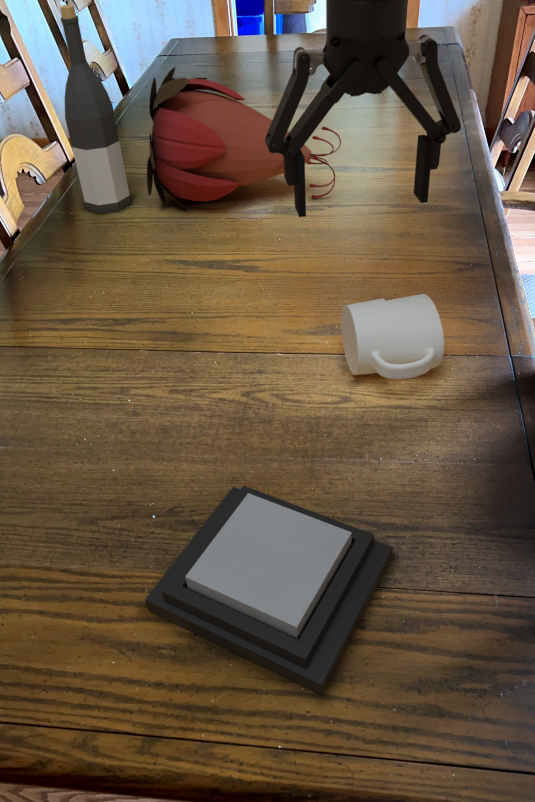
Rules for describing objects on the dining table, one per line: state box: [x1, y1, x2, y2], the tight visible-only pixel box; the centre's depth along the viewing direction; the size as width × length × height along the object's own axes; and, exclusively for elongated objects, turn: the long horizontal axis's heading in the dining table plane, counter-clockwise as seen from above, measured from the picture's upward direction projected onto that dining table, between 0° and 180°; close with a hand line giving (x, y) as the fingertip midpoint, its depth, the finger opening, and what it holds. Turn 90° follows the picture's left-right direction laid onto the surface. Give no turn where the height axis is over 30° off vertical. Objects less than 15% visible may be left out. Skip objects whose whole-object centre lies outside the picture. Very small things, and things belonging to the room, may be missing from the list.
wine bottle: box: [59, 3, 131, 215], centre depth 112 cm, size 8×8×30 cm
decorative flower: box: [146, 66, 342, 211], centre depth 115 cm, size 22×23×30 cm
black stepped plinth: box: [144, 485, 394, 696], centre depth 60 cm, size 16×14×3 cm
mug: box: [340, 293, 445, 380], centre depth 80 cm, size 12×9×8 cm
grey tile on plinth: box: [185, 493, 352, 638], centre depth 59 cm, size 10×10×2 cm
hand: (360, 205), depth 79 cm, fingers open, 13 cm apart
